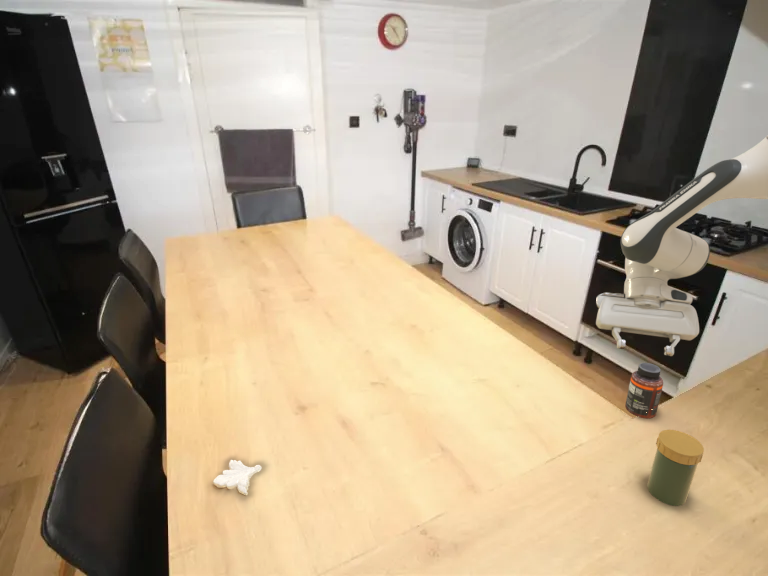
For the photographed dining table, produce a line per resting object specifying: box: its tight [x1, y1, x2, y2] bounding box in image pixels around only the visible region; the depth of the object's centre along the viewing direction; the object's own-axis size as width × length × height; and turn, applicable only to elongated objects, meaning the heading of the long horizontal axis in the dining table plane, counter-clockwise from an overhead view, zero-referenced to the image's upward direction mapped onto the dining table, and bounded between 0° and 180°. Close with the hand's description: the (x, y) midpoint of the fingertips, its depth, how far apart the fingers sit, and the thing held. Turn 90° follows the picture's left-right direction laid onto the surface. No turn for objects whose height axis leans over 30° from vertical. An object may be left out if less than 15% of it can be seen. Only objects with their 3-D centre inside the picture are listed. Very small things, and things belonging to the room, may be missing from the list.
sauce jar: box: [646, 447, 699, 507], centre depth 68 cm, size 6×6×11 cm
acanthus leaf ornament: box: [212, 459, 263, 496], centre depth 75 cm, size 8×7×2 cm
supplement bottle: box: [624, 362, 664, 419], centre depth 89 cm, size 6×6×11 cm
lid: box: [655, 429, 705, 465], centre depth 67 cm, size 6×6×2 cm
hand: (644, 351), depth 93 cm, fingers open, 8 cm apart
